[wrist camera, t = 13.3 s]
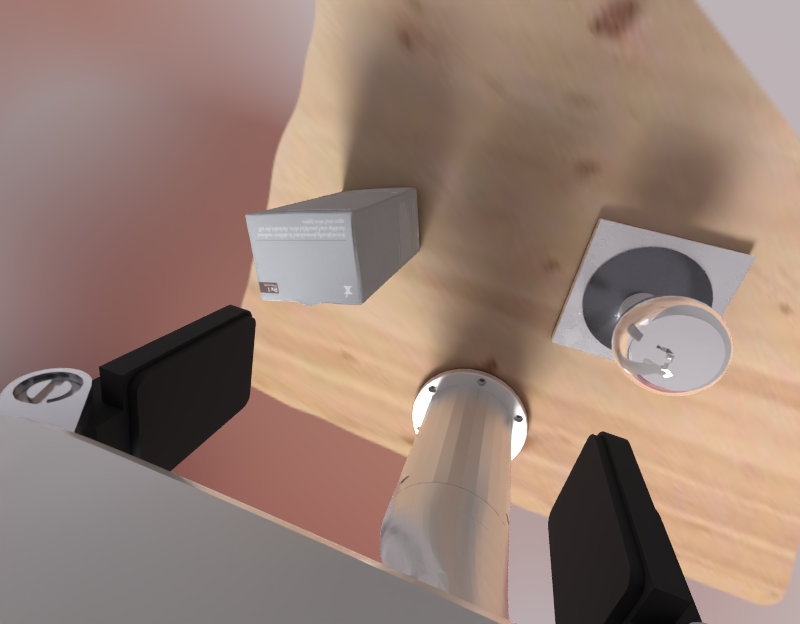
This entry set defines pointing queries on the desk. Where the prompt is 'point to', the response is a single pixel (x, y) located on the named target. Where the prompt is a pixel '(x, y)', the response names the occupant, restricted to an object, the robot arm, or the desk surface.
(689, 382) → the light bulb
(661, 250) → the duct plate
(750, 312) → the desk surface
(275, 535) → the robot arm
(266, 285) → the skincare box
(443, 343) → the desk surface
